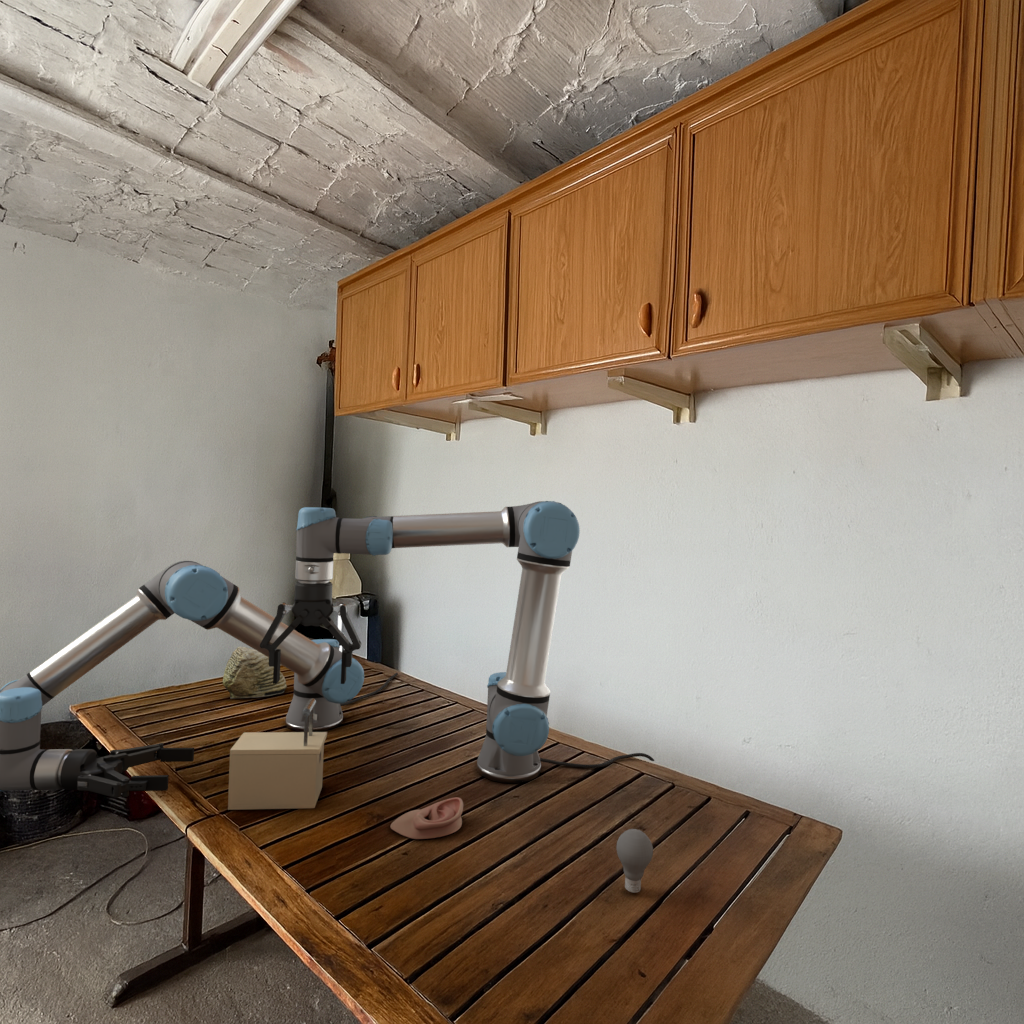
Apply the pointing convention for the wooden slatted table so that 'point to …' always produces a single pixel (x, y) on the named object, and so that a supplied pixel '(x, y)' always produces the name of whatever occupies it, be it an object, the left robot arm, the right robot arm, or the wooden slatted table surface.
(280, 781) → the chest
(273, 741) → the lid
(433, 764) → the wooden slatted table surface
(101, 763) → the left robot arm
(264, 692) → the fossil
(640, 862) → the light bulb
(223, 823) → the wooden slatted table surface
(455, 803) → the anatomical model
